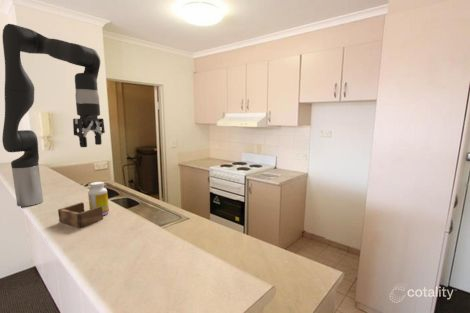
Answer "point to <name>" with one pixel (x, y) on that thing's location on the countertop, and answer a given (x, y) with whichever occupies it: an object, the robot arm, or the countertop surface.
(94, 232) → the countertop surface
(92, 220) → the walnut bay
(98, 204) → the supplement bottle
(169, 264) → the countertop surface
